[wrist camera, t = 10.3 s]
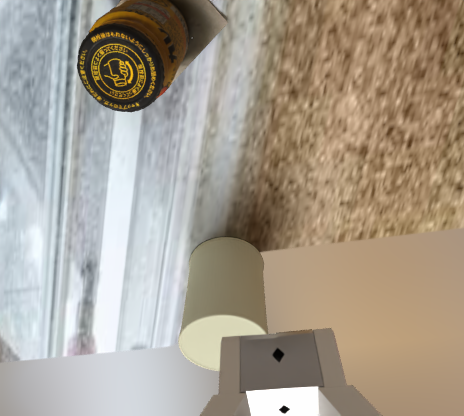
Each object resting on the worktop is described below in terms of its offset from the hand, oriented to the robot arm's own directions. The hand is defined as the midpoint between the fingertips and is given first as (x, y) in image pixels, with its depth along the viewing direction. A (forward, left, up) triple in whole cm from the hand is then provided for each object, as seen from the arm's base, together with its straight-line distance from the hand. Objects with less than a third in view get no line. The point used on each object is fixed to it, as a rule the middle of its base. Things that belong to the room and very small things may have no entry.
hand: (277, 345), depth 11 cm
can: (+6, +24, -29) cm, 38 cm away
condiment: (+7, -4, -29) cm, 30 cm away
